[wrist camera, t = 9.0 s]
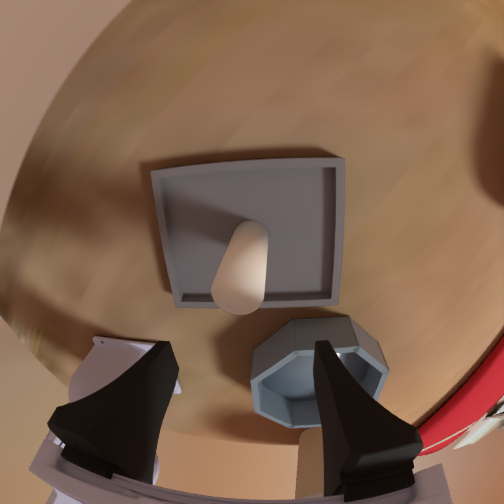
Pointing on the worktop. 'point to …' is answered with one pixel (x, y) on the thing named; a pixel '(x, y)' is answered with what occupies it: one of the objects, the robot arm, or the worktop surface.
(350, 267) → the worktop surface
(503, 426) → the artificial flower
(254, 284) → the dowel pin
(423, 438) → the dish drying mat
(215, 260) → the tray
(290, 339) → the blue-grey octagonal bowl
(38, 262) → the worktop surface
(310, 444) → the coffee cup
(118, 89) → the worktop surface
